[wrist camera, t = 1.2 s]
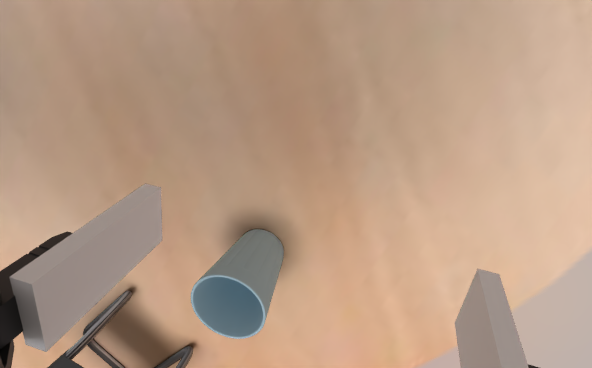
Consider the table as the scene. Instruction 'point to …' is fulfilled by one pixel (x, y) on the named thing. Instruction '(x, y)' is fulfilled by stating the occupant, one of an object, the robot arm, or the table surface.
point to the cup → (240, 286)
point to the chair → (64, 363)
